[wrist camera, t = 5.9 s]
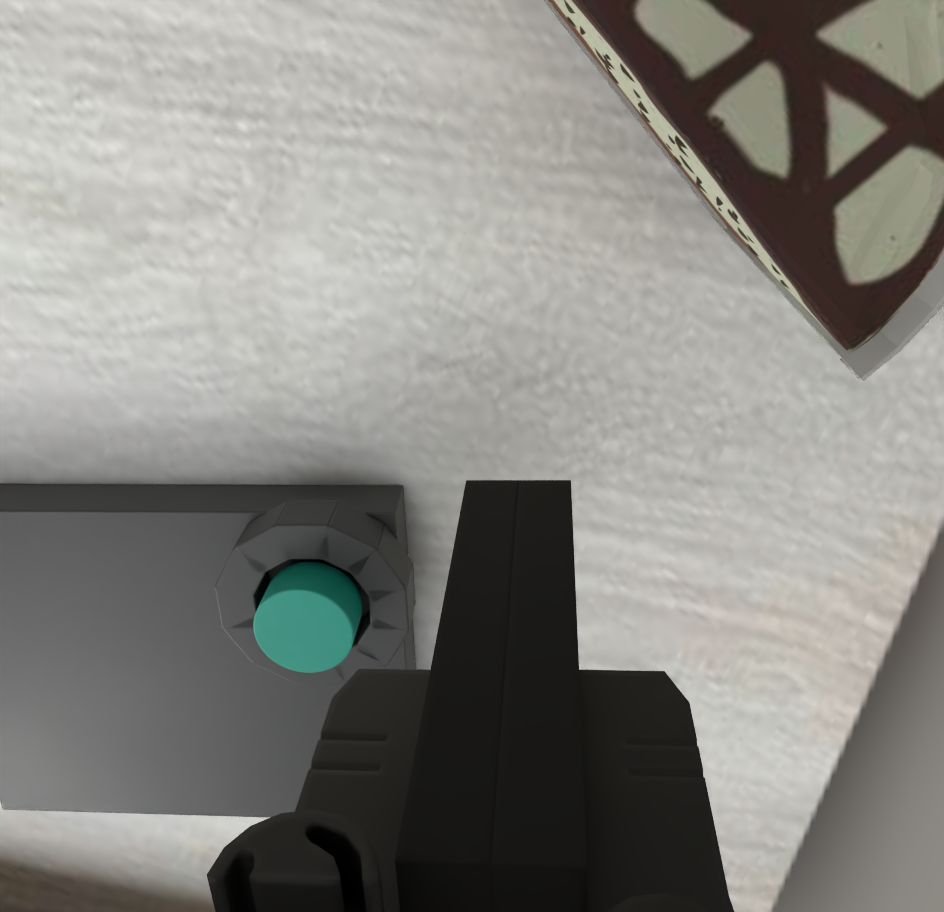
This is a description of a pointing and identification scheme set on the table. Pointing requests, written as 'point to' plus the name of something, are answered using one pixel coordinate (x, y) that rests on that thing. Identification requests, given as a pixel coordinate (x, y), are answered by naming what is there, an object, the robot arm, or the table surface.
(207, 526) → the grey button box
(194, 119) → the table surface
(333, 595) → the button
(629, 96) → the food container
